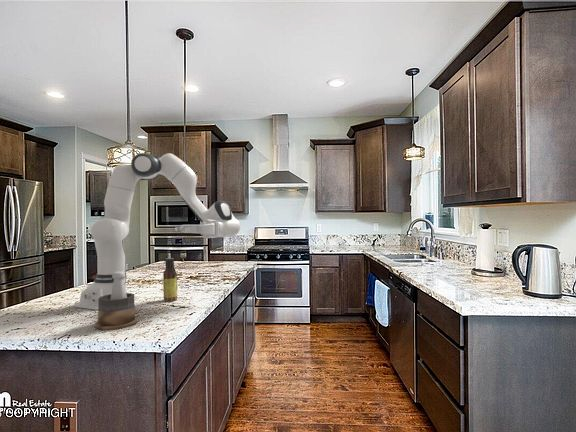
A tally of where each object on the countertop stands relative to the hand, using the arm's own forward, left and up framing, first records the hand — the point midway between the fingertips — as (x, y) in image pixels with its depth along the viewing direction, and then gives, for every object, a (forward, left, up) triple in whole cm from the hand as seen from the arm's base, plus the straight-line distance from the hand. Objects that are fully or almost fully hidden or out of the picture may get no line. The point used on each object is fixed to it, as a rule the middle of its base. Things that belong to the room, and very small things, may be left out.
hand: (180, 229), depth 144 cm
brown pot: (-11, -25, -34) cm, 44 cm away
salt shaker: (-11, -25, -28) cm, 39 cm away
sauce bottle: (-11, +11, -34) cm, 38 cm away
